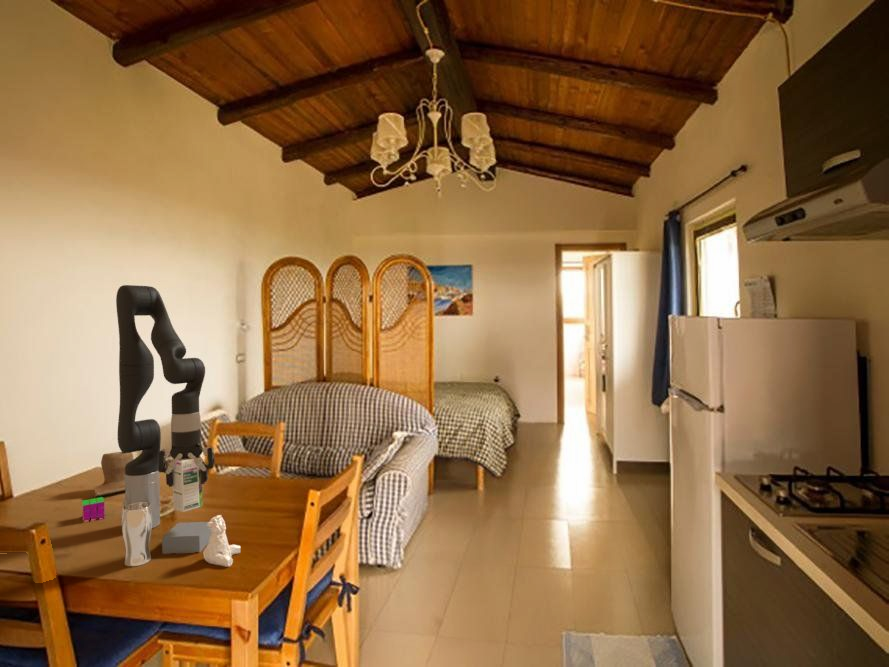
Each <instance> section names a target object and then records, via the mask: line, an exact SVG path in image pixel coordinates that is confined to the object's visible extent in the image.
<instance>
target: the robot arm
mask: <svg viewBox="0 0 889 667" xmlns="http://www.w3.org/2000/svg"><path fill="white" fill-rule="evenodd" d="M115 298H116V299H115V302H116V314H117V315H116V317H117V324H118V327H117V328H118V337H119V338H118V339H119V342H118V344H119V351H118V352H119V353H118V354H119V355H118V356H119V358H118V359H119V360H118V375H119V376H118V379H119V380H118V381H119V411H118V423H117V444H118V448H119V450H120V452H124V453H131V452H132V453H135V452H139V451H140V454H139V455H137V457H136V458H133V459H134V460H132V461H130V462H129V463H127V464H126V465H125V491H124V492H125V494H124V495H125V496H124V499H123V500H122V508H123V507H124V506H126V505H128V504H131V503H136V502H150V503H151V511H152V528H151V529H154V528H156V527H158V526H159V525H160V524H161V503H160V501H161V500H160V495H161V494H160V473H164V474H165V480H166V481H165V482H166V485H167V486H168V488H171V487H172V488H173V476H172V470H173V468H174V467H175V466H176V464H177V461H176V460H177V459H183V458H190V459H195V460H194V462H195V464H196V465H197V466H199V467H200V468H201V484H202V485H205V484H206V482H207V481H208V479H209V476H208V475H209V472H208V470H211V469H213V468H214V467H215V465H216V464H215V455H214V454H215V452H214V446H213V445H210V446H208V447H203V446H202V430H201V429H202V428H201V427H202V422H201V420H202V419H201V414H200V395H201V391H202V387H203V383H204V380H205V376H206V366H205V364H204V362H203V361H202V359H201V358H198V357H189V358H187V357H186V353H187V349H186V346H185V344H184V342H183V341H182V340H181V338H180V337H179V335H178V334H177V332H176V331H175V329H174V326H173V324H172V322H171V318H170V317H169V314H168V313H169V312H168V311H167V308H166V306H165V303H164V301H163V298H162V296H161V294H160V292H159V291H158V290H157V288H155V287H154V286H149V285H148V286H147V285H135V284H134V285H133V284H132V285H131V284H130V285H129V284H123V285H121V286H119V288H118V290H117V292H116V297H115ZM135 316H143V317H145V316H146V317H147V316H150V318H152V320H153V321H154V322H153V326H152V330H151V332H150V341H151V344H152V345H153V348H154V349H155V351H156V352H157V354H158V356H159V358H160V361H161V366H162V372H163V377H164V379H165V380H166V381H167V382H168V383H170V384H172V385H180V384H185V387H184V388H183V389H182V390H180V391H177V392H175V393H173V394H172V395H171V418H170V419H171V420H170V429H171V432H170V433H171V436H170V437H171V438H170V439H171V449H167V450H166V448H165V449H164V448H163V449H161V445H162V444H161V443H162V442H161V440H162V438H161V436H162V435H161V434H162V433H161V427H160V426H161V425H160V424H159V423H158V421H157V420H156V419H154V418H153V419H152V418H147V419H142V420H136V415H137V411H138V409H139V408H138V407H139V405H140V403H141V401H142V399H143V398H144V396H146V393H148V391H149V389H150V387H151V386H152V384H153V381H154V379H155V361H154V360H155V359H154V355H153V354H152V352H151V350H150V348H149V347H148V346H147V345H146V343H145V341H144V340H143V339H142V338H141V336H140V334H139V332H138V330H137V326H136V318H135ZM184 357H185V358H184ZM202 453H204V455H206V456H207V463H206V462H205V461H204V459H203V458H202V457H201V455H202ZM169 455H170V456H171V458H172V459H174V461H173V462H172V461H171V463H170V465H169V466H168V467H167V466H166V464H167V463H166V462H167V460H166V459H167V458H168V457H169ZM198 457H201V461H200V460H199V459H198Z"/></svg>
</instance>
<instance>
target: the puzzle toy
mask: <svg viewBox="0 0 889 667" xmlns="http://www.w3.org/2000/svg"><path fill="white" fill-rule="evenodd" d="M81 509H82V510H81V511H82V516H83V518H82V522H83V521H85V520H90V518H91V519H97V520H98V518H104V517H105V516H106V515H105V500H104V497H103V496H99V497H96V498H95V497H94V498H91V499H84V500H81ZM97 516H98V518H97ZM90 521H91V520H90Z"/></svg>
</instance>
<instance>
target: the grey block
mask: <svg viewBox="0 0 889 667" xmlns="http://www.w3.org/2000/svg"><path fill="white" fill-rule="evenodd" d="M207 523H209V521H195V522H194V521H193V522H191V521H190V522H178V523H176V525H174V526H173V527H171V528H170V529H169V530H168V531H167V532H166V533H165V534H164V535H163V536H162V537H161V538H162V539H161V547H162V548H161V550H162V555H170V554H171V553H176V554H195V552H200V553H202V552H203V550H204V549H205V548H206V547H207V545H208V541H209V537H210V535H212V532H211V530H210V529H209V527H208V526H207ZM171 555H172V554H171Z"/></svg>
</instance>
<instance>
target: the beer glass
mask: <svg viewBox="0 0 889 667" xmlns="http://www.w3.org/2000/svg"><path fill="white" fill-rule="evenodd" d="M121 512H122V513H121V530H122V537H123V540H124V545H125V551H126V552H125V558H124V565H125V566H126V567H130V566H131V567H138V566H141V565H145V564H147V563H149V562H150V561H151V560H152V556H151V550H150V540H151V534H152V529H153V528H152V511H151V503H150V502H136V503H131V504H128V505H126V506H124V507H123V506H122V511H121Z"/></svg>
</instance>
